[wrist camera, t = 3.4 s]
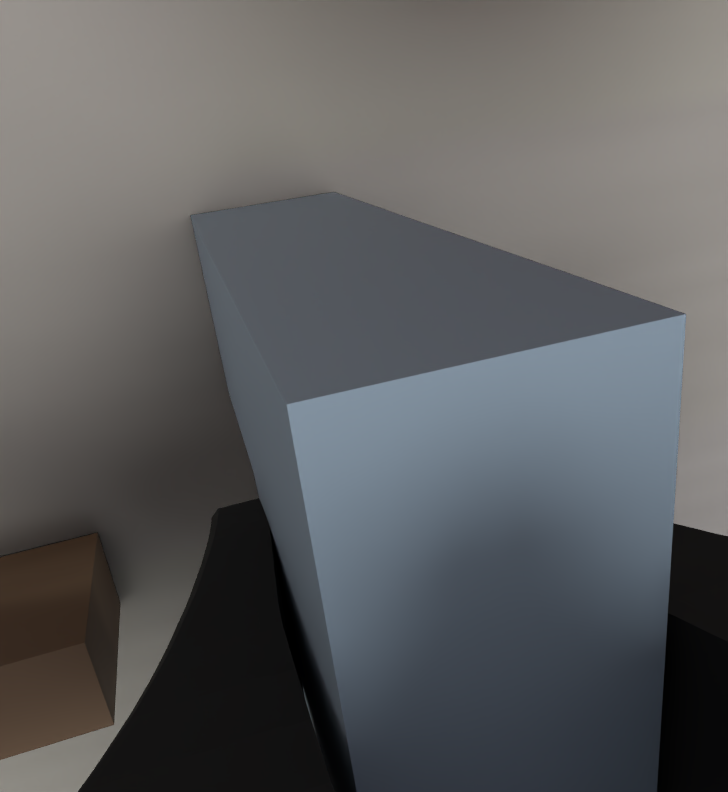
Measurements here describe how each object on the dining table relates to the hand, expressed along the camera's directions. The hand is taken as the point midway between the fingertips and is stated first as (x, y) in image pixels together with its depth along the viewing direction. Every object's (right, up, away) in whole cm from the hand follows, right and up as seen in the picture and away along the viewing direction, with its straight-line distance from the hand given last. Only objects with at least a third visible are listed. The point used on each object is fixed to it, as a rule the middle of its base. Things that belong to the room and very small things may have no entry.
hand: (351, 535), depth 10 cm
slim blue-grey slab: (-1, +1, +3) cm, 3 cm away
